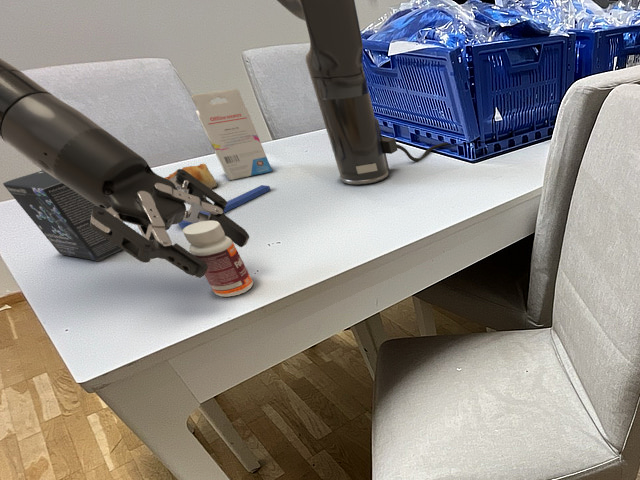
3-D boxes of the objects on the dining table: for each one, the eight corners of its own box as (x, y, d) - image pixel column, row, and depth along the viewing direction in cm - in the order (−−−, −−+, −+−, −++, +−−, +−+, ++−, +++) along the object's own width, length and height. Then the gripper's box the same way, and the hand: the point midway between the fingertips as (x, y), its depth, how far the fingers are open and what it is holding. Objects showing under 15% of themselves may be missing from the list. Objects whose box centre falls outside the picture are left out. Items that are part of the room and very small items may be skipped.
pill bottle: (257, 289, 59) (225, 227, 53) (218, 301, 57) (180, 238, 51) (250, 275, 62) (219, 215, 56) (212, 286, 60) (176, 225, 54)
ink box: (267, 166, 97) (233, 84, 87) (273, 171, 94) (239, 88, 84) (224, 174, 94) (185, 90, 83) (229, 180, 91) (189, 94, 80)
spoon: (255, 188, 87) (252, 181, 86) (279, 191, 86) (277, 184, 85) (171, 227, 74) (167, 220, 74) (199, 231, 73) (195, 224, 72)
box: (59, 255, 68) (0, 182, 60) (95, 240, 71) (43, 169, 64) (97, 262, 66) (40, 187, 58) (132, 245, 70) (83, 173, 62)
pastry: (166, 199, 84) (154, 177, 81) (161, 190, 88) (149, 169, 85) (220, 187, 88) (210, 166, 85) (213, 179, 92) (203, 158, 89)
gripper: (19, 146, 42) (195, 265, 49) (136, 111, 52) (268, 213, 59) (18, 202, 46) (180, 303, 53) (126, 159, 57) (250, 249, 63)
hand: (226, 256), depth 56 cm, fingers open, 8 cm apart
